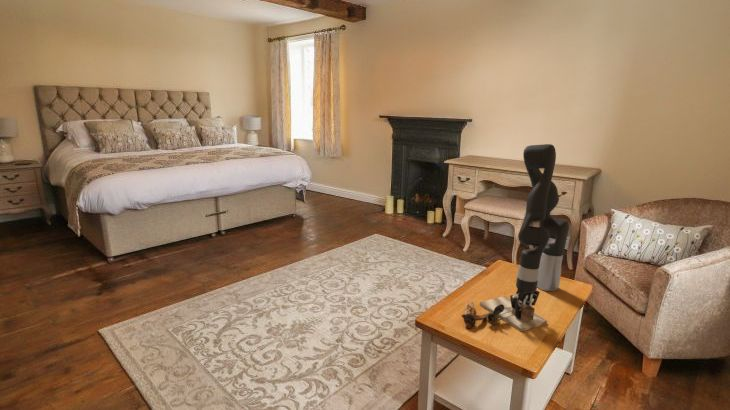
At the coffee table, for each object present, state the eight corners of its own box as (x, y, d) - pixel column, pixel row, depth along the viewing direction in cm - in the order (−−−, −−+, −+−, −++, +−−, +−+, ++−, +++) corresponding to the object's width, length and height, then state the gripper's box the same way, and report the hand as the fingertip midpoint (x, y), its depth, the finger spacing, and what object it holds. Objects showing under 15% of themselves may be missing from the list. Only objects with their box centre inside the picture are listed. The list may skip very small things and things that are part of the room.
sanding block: (518, 311, 159) (520, 300, 158) (533, 320, 153) (534, 308, 152) (511, 313, 157) (513, 302, 156) (525, 322, 151) (527, 310, 150)
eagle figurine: (508, 326, 148) (508, 311, 156) (498, 312, 147) (499, 297, 155) (489, 331, 152) (490, 316, 160) (480, 317, 151) (482, 302, 158)
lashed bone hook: (485, 334, 146) (485, 309, 163) (487, 323, 145) (487, 299, 162) (459, 328, 149) (462, 305, 165) (461, 317, 148) (464, 295, 164)
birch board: (504, 298, 172) (504, 295, 172) (546, 323, 154) (547, 320, 153) (479, 304, 166) (479, 302, 166) (521, 331, 147) (521, 328, 147)
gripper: (532, 269, 157) (526, 308, 162) (506, 276, 151) (501, 316, 155) (548, 277, 151) (542, 317, 155) (522, 284, 145) (516, 325, 149)
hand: (521, 316), depth 155 cm, fingers closed on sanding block, 4 cm apart
